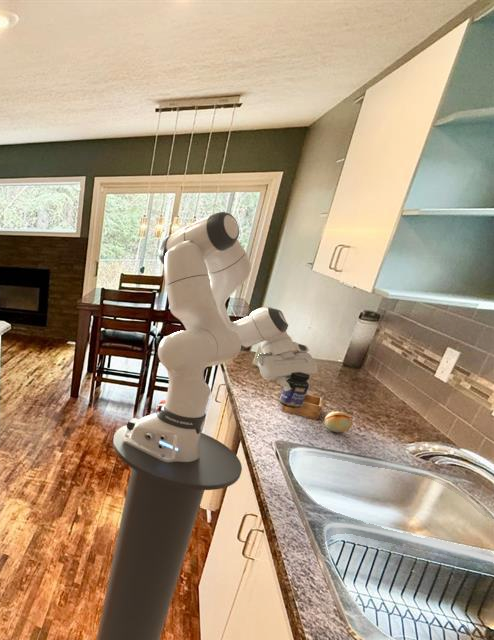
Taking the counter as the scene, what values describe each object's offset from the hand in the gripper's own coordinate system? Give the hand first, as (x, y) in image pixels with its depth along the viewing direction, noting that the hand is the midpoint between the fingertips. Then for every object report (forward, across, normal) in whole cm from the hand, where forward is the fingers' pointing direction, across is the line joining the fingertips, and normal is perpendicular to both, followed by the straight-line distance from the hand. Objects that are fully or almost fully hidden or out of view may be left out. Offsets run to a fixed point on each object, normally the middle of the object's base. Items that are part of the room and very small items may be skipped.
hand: (298, 389), depth 128 cm
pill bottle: (+4, 0, +5) cm, 6 cm away
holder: (+3, +20, +17) cm, 26 cm away
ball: (+14, +15, +6) cm, 22 cm away
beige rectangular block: (-28, +50, +48) cm, 75 cm away
